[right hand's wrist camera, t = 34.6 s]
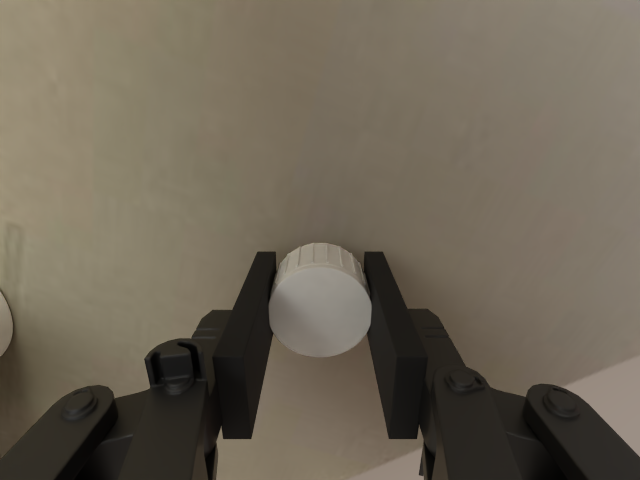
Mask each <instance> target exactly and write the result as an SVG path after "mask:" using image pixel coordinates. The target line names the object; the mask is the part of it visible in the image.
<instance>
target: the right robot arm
mask: <svg viewBox="0 0 640 480" xmlns="http://www.w3.org/2000/svg"><path fill="white" fill-rule="evenodd" d="M276 273H277V270H276V252H257V254H256V256H255V259H254V261H253V263H252V266H251V268H250V270H249V273H248V275H247V277H246V280H245V282H244V284H243V287H242V289H241V291H240V293H239V296H238V298H237V300H236V303H235V305H234V307H233V310H212V311H211V312H210V313H208V314H207V315H206V316H205V317H203V318H202V319H201V321H200V323H199V325H198V327H197V328H196V330H195V332H194V334H193V336H192V339H189V338H179V339H174V340H170V341H167V342H165V343H162V344H160V345H158V346H156V347H155V348H154V349H152V350H151V351H150V352H149V353H148V354H147V356H146V357H145V359H144V360H145V364H146V369H147V373H148V378H149V382H150V389H148V390H146V391H142V392H139V393H135V394H131V395H127V396H123V397H118V398H114V394H113V391H111V390H110V389H109V388H108V387H106V386H101V385H95V386H87V387H84V388H81V389H78V390H75V391H73V392H71V393H69V394H67V395H66V396H64V397H62V398H61V399H60V400H59V401H57V402H56V403H55V404H54V405H52V407H51V408H50V409H49V410H48V411H47V412H46V413H45V414H44V415H43V416H42V417H41V418H40V419H39V420H38V421H37V422H36V423H35V424H34V425H33V426H32V427H31V428H30V429H29V430H28V431H27V433H26V434H25V435H24V436H23V437H22V438H21V439H20V440H19V441H18V442H17V443H16V444H15V445H14V446H13V447H12V448H11V449H10V450H9V451H8V452H7V453H6V454H5V455H4V456H3V457H2V459H1V460H0V480H216V473H217V462H218V450H217V443H216V441H217V438H218V434H219V431H220V428H221V426H222V433H223V439H251V438H252V433H253V428H254V423H255V419H256V414H257V409H258V404H259V399H260V394H261V390H262V385H263V380H264V375H265V370H266V365H267V361H268V356H269V351H270V346H271V341H272V336H273V331H272V329H271V327H270V322H269V305H268V304H269V300H270V293H271V289H272V285H273V281H274V278H275V274H276ZM364 273H365V276H366V280H367V284H368V288H369V291H370V299H371V304H372V310H371V324H370V327H369V329H368V331H367V335H368V340H369V345H370V350H371V355H372V360H373V364H374V369H375V374H376V379H377V384H378V389H379V393H380V398H381V403H382V408H383V413H384V417H385V422H386V427H387V432H388V437H389V439H417V435H418V428H419V425H420V429H421V432H422V435H423V438H424V443H423V450H422V457H421V464H420V470H419V475H421V476H423V474H424V480H640V457H639V456H638V455H637V454H636V453H635V452H634V451H633V450H632V449H631V448H630V447H629V446H628V445H627V443H626V442H625V441H624V440H623V439H622V438H621V437H620V436H619V435H618V434H617V433H616V432H615V431H614V430H613V429H612V428H611V427H610V426H609V425H608V424H607V423H606V422H605V421H604V420H603V419H602V418H601V417H600V416H599V415H598V414H597V412H596V411H595V410H594V409H593V408H592V407H591V406H590V405H589V404H588V403H586V402H585V401H584V400H583V399H581V398H580V397H579V396H578V395H576V394H574V393H572V392H570V391H568V390H567V389H564V388H561V387H558V386H555V385H550V384H538V385H533V386H532V387H531V388H530V389H529V390H528V391H527V395H526V397H524V396H519V395H515V394H511V393H507V392H502V391H499V390H496V389H493V388H491V387H490V386H489V384H488V383H487V381H486V380H485V378H484V377H482V376H481V375H480V374H479V373H478V372H476V371H474V370H472V369H470V368H468V367H466V366H465V364H464V362H463V360H462V359H461V357H460V355H459V353H458V351H457V350H456V348H455V346H454V344H453V343H452V341H451V339H450V338H449V335H448V334H447V332H446V330H445V329H444V327H443V325H442V323H441V321H440V319H439V318H438V317H437V316H436V315H435V314H433V313H432V312H431V311H430V310H428V309H407V307H406V304H405V302H404V300H403V298H402V295H401V293H400V291H399V288H398V286H397V284H396V281H395V279H394V277H393V274H392V272H391V270H390V267H389V265H388V263H387V261H386V258H385V256H384V254H383V252H365V254H364Z"/></svg>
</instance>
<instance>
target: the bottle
mask: <svg viewBox="0 0 640 480" xmlns="http://www.w3.org/2000/svg"><path fill="white" fill-rule="evenodd" d="M12 334H13V321H12V316H11V312H10V309H9V306H8V304H7V302H6V300H5V298H4V296H3V295H2V293H1V292H0V356H1V355H2V354H3V353H4V352H5V351H6V349H7V348H8V346H9V344H10V341H11V338H12Z"/></svg>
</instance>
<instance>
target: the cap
mask: <svg viewBox="0 0 640 480" xmlns="http://www.w3.org/2000/svg"><path fill="white" fill-rule="evenodd" d="M268 305H269V322H270V327H271V329H272V331H273V333H274V335H275V336H276V338H277V339H278V340H279V341H280V342H281V343H282V344H283V345H284V346H286V347H287V348H289V349H290V350H292V351H294V352H296V353H299V354H301V355H305V356H309V357H331V356H335V355H339V354H341V353H344V352H346V351H348V350H350V349H351V348H353V347H354V346H356V345H357V344H358V343H359V342H360V341H361V340H362V339H363V337H364V336H365V335H366V333H367V331H368V329H369V327H370V324H371V310H372V304H371V299H370V291H369V288H368V284H367V280H366V276H365V273H363V270H362V267H361V263H360V262H358V261H357V260H356V258H355V257H354V256H353V255H352V253H349V252H348V251H346V250H345V249H343V248H341V246H336V245H333V244H328V243H312V244H307V245H304V246H299V248H297V249H295V250H294V251H292V252H291V253H288V254H287V256H286V257H285V258H284V260H283V261H282V262H280V263H279V266H278V270H277V273H276V274H275V278H274V281H273V285H272V289H271V293H270V300H269V304H268Z"/></svg>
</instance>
